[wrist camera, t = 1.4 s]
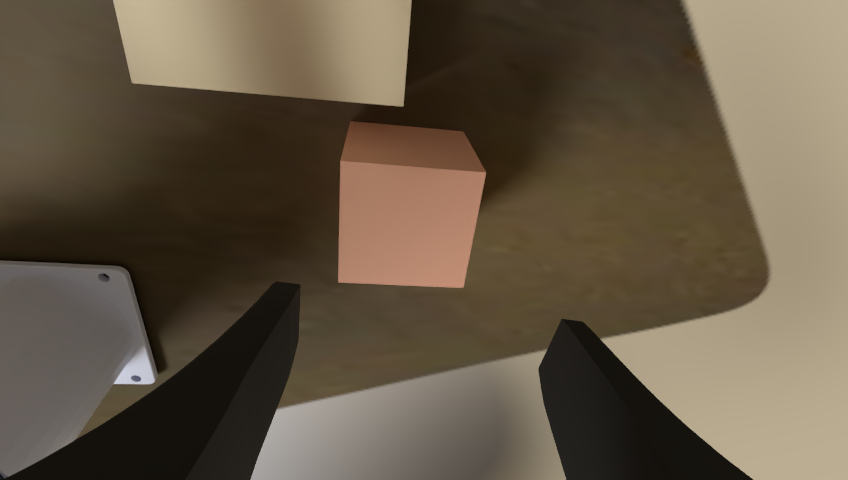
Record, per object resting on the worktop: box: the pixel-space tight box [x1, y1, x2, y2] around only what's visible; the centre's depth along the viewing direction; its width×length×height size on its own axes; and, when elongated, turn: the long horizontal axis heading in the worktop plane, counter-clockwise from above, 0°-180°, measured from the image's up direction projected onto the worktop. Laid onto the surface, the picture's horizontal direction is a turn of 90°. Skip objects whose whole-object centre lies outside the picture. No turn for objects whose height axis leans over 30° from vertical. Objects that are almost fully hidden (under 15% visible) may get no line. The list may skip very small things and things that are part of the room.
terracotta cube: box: [338, 121, 486, 288], centre depth 18 cm, size 5×5×5 cm
